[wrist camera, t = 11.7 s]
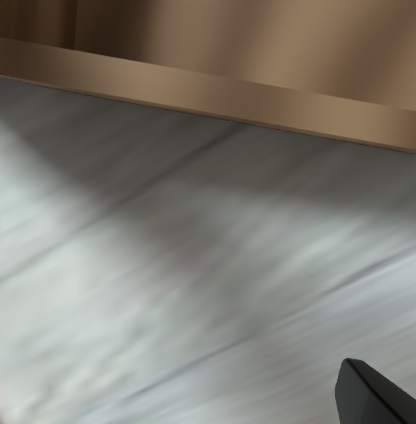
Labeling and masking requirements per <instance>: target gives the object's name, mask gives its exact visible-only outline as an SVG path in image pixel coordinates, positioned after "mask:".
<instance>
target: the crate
mask: <svg viewBox="0 0 416 424" xmlns="http://www.w3.org/2000/svg"><path fill="white" fill-rule="evenodd" d="M0 77H3V78H7V79H12V80H16V81H21V82H25V83H30V84H34V85H38V86H43V87H47V88H52V89H56V90H62V91H68V92H73V93H79V94H84V95H90V96H95V97H101V98H106V99H112V100H118V101H123V102H129V103H134V104H140V105H145V106H151V107H157V108H162V109H168V110H173V111H179V112H184V113H190V114H195V115H201V116H207V117H212V118H218V119H223V120H229V121H234V122H240V123H245V124H251V125H257V126H262V127H268V128H273V129H279V130H284V131H290V132H296V133H301V134H307V135H312V136H318V137H323V138H329V139H334V140H340V141H346V142H351V143H357V144H362V145H368V146H373V147H379V148H384V149H390V150H396V151H401V152H407V153H412V154H416V0H0Z"/></svg>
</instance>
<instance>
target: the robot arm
mask: <svg viewBox="0 0 416 424" xmlns="http://www.w3.org/2000/svg"><path fill="white" fill-rule="evenodd" d="M335 399H336V404H337V409H338V414H339V419H340V424H416V399H414V398H413V397H411V396H410V395H409V394H407V393H406V392H405V391H403V390H402V389H401V388H399V387H398V386H397V385H395V384H394V383H392V382H391V381H390V380H388V379H387V378H386V377H384V376H383V375H382V374H380V373H379V372H377V371H376V370H375V369H373V368H372V367H371V366H369V365H368V364H367V363H365V362H364V361H362V360H358V359H352V358H345V359H344V360H343V362H342V364H341V368H340V371H339V375H338V379H337V383H336V387H335Z"/></svg>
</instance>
